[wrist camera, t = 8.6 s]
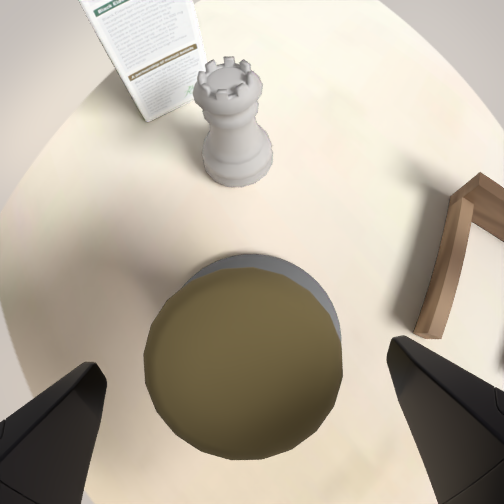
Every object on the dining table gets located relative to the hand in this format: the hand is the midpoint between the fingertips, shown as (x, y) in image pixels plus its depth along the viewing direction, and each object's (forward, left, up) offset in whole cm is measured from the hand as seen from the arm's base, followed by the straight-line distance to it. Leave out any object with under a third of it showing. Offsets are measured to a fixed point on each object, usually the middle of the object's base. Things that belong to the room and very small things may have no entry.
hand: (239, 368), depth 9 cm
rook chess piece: (+11, +3, -9) cm, 15 cm away
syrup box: (+17, +10, -9) cm, 22 cm away
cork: (0, 0, -9) cm, 9 cm away
